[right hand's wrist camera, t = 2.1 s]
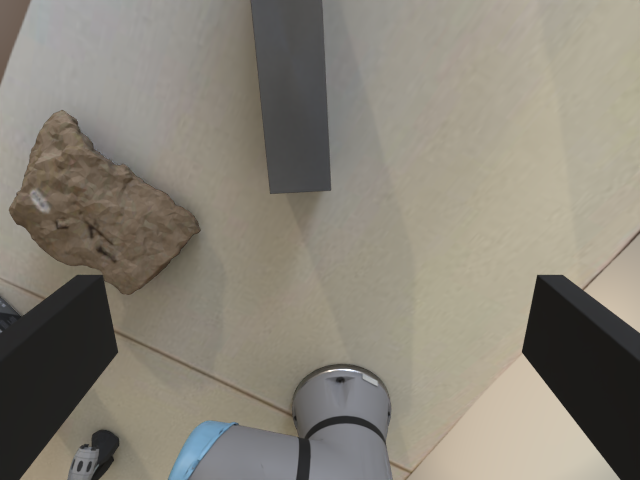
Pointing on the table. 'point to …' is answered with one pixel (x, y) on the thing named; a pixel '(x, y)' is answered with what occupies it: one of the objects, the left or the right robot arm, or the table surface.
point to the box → (293, 93)
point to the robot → (94, 457)
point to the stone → (97, 209)
